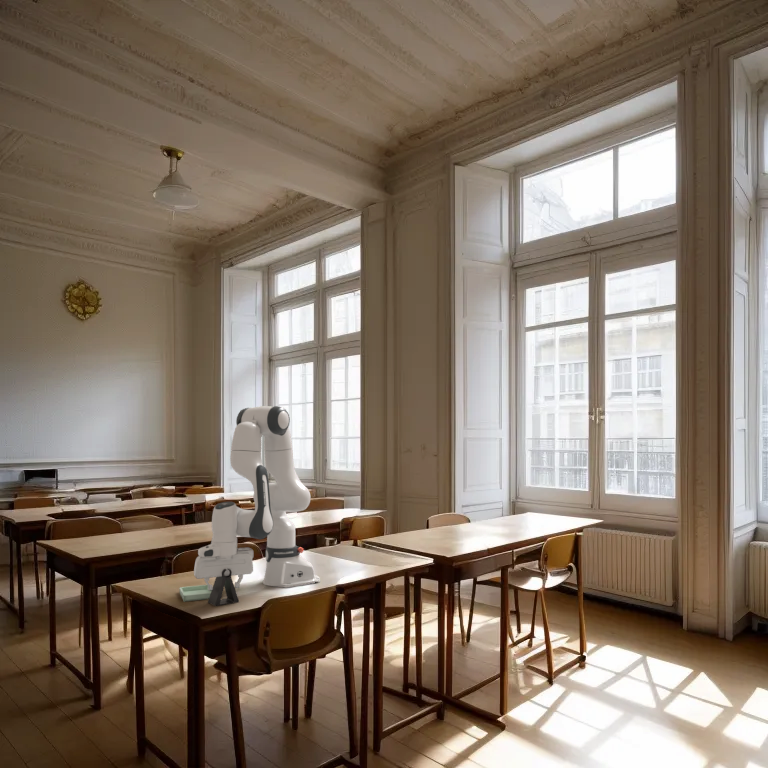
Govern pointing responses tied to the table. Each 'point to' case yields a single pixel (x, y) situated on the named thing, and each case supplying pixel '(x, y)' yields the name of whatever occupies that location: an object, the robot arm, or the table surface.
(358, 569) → the table surface
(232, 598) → the dark grey a-shaped stand
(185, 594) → the tray
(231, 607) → the table surface
